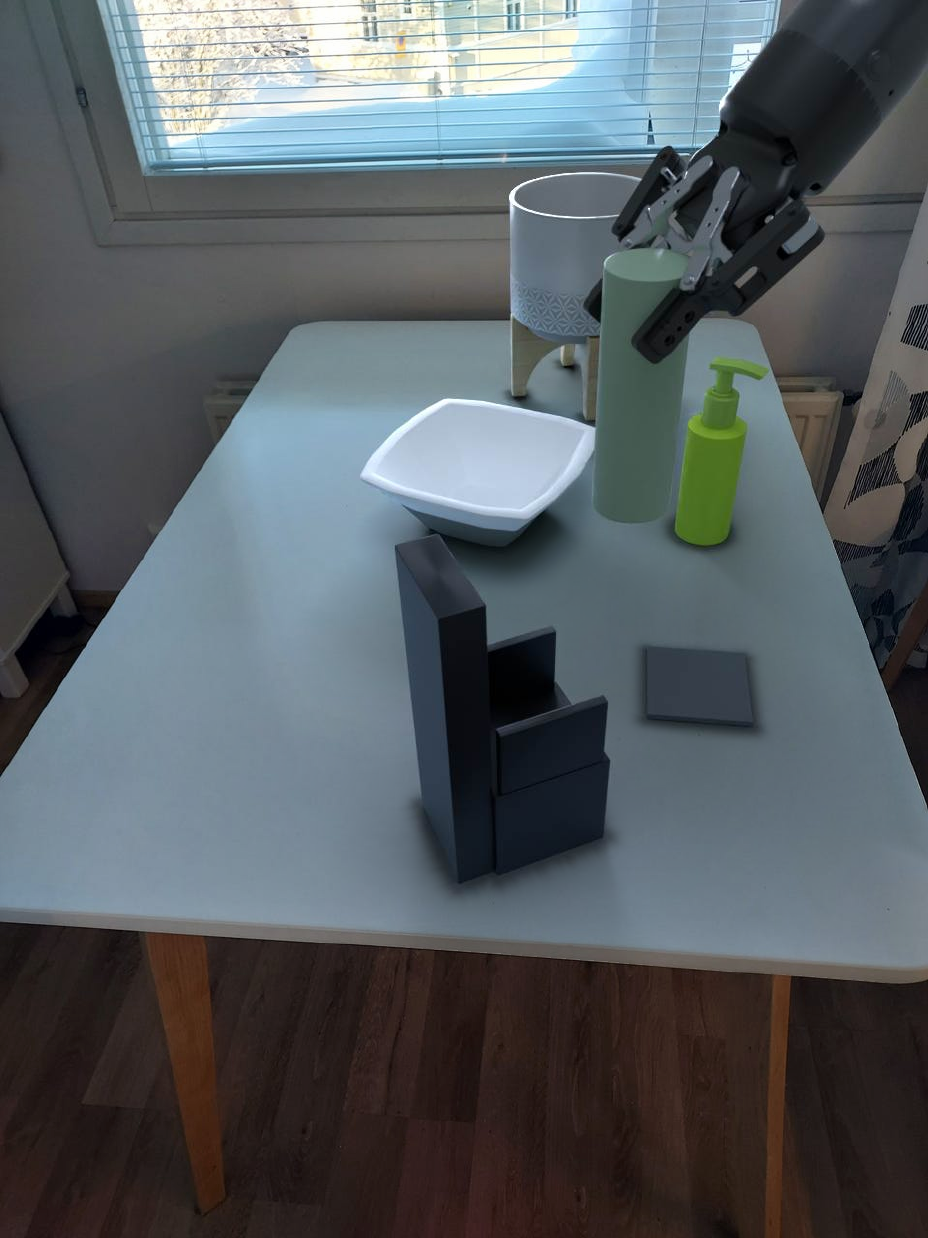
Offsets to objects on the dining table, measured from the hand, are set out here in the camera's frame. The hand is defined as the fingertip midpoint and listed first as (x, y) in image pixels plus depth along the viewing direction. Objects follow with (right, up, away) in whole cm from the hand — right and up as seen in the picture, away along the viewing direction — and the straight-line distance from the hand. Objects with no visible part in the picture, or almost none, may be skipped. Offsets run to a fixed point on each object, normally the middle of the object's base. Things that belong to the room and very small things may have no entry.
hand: (617, 334), depth 54 cm
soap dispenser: (+18, -7, +49) cm, 53 cm away
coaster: (+12, -23, +30) cm, 40 cm away
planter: (+7, +16, +77) cm, 79 cm away
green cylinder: (+2, -9, +8) cm, 12 cm away
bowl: (-7, -5, +53) cm, 54 cm away
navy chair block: (-5, -33, +20) cm, 39 cm away
